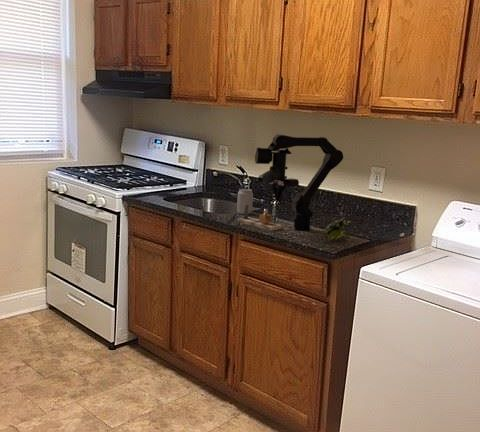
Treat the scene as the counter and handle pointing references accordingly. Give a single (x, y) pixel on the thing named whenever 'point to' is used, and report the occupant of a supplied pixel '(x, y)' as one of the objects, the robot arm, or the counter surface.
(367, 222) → the counter surface
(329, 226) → the green leafy plant
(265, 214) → the orange slider block
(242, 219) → the bolt plate
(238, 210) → the can
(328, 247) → the counter surface
